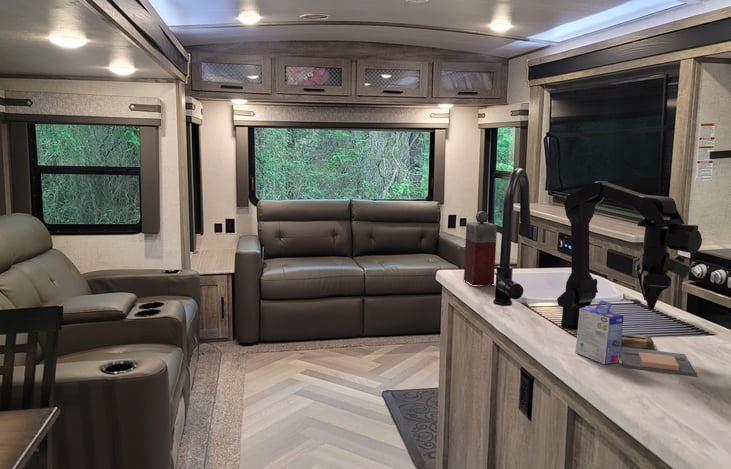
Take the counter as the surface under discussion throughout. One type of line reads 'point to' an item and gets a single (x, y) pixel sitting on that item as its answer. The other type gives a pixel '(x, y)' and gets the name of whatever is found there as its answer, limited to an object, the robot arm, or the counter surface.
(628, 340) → the stand
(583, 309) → the ink cartridge box
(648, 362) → the tile
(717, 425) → the counter surface
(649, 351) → the mat
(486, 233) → the square decanter
